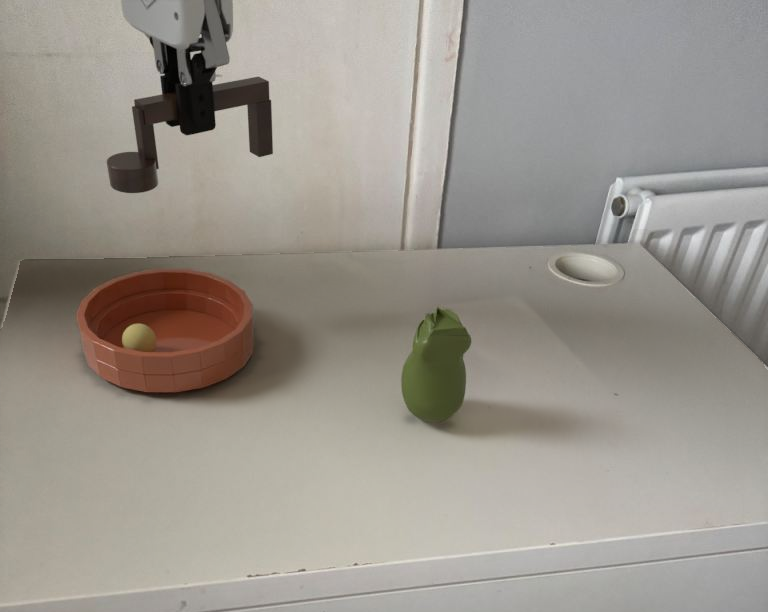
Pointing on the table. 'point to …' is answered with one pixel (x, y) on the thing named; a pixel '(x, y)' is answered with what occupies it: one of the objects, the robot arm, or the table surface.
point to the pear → (436, 367)
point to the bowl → (167, 329)
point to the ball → (139, 338)
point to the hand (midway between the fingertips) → (190, 125)
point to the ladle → (141, 167)
